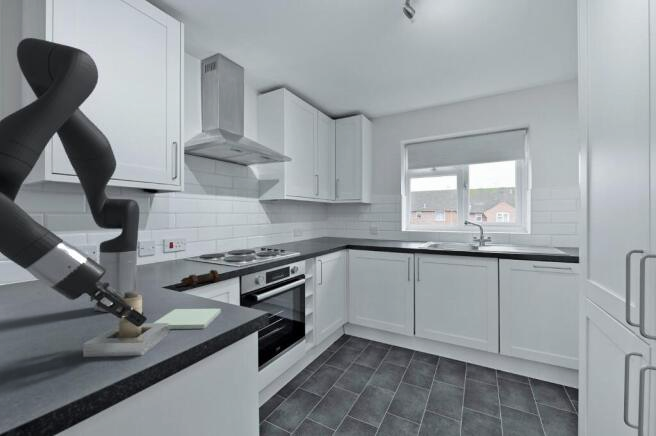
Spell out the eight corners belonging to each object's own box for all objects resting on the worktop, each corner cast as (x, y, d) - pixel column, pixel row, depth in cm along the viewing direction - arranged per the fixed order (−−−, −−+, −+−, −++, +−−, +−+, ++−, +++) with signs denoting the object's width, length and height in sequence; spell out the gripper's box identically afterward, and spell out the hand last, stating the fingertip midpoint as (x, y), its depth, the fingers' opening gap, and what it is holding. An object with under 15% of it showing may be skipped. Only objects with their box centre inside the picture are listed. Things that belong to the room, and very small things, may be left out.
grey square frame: (83, 356, 55) (83, 343, 55) (120, 334, 66) (120, 323, 66) (141, 355, 56) (142, 342, 56) (169, 333, 67) (169, 323, 67)
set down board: (149, 329, 69) (150, 325, 69) (174, 312, 82) (175, 309, 82) (204, 328, 70) (204, 324, 70) (220, 312, 83) (220, 308, 83)
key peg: (113, 347, 59) (115, 294, 59) (126, 339, 63) (127, 290, 63) (133, 347, 59) (135, 294, 59) (145, 339, 63) (146, 289, 63)
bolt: (181, 291, 116) (214, 283, 128) (186, 286, 113) (220, 279, 126) (177, 278, 118) (210, 271, 130) (182, 273, 115) (216, 267, 127)
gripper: (86, 259, 51) (162, 313, 59) (86, 252, 62) (150, 299, 70) (44, 293, 48) (130, 346, 55) (52, 279, 58) (123, 325, 66)
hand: (141, 319), depth 62 cm, fingers closed on key peg, 4 cm apart
